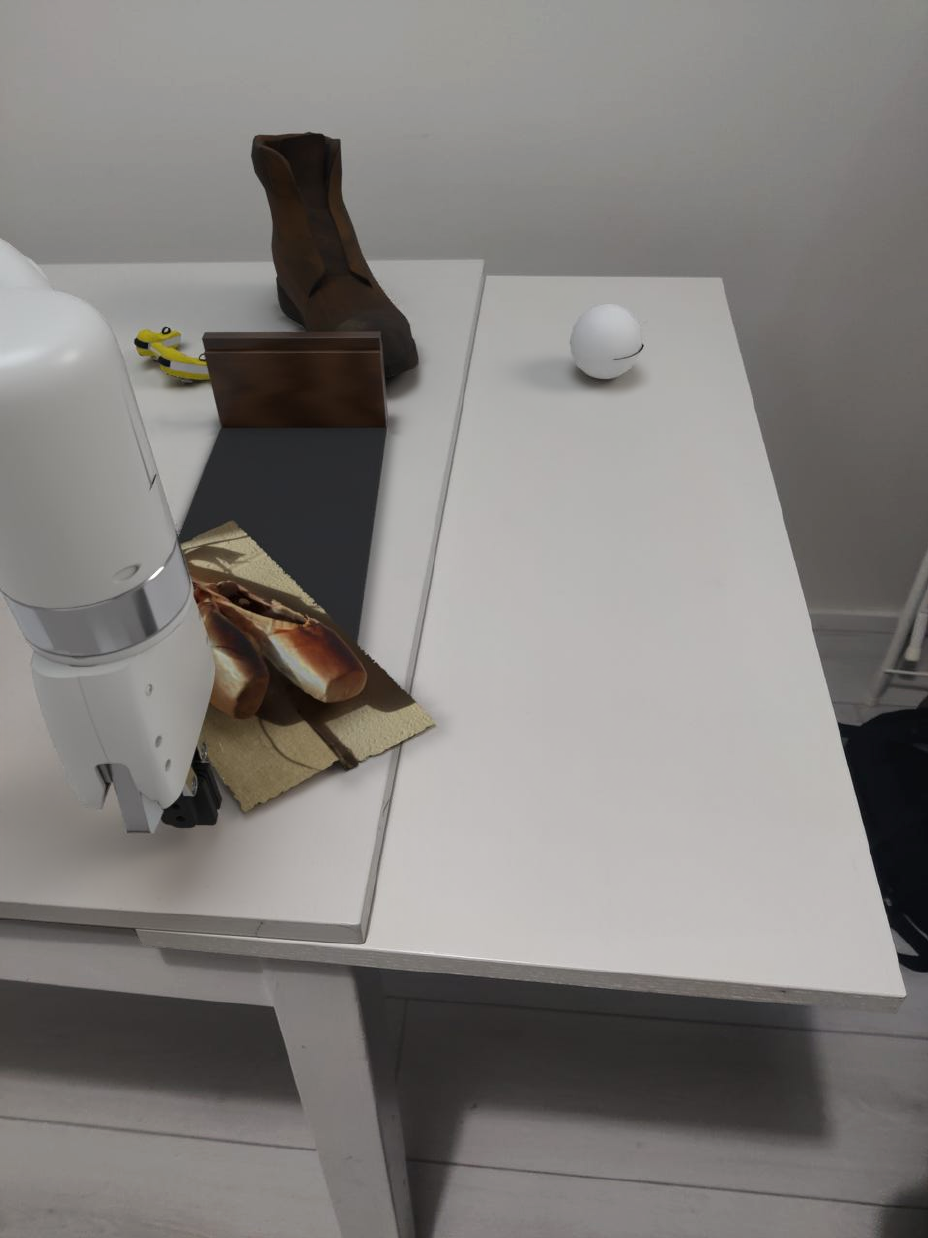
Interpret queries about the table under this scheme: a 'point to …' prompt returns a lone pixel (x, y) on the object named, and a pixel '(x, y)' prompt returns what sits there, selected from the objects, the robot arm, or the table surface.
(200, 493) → the black display mat
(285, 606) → the ballet pointe shoes
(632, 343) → the white ovoid
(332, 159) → the boot
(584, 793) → the table surface
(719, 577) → the table surface
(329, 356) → the brown wooden panel
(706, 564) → the table surface
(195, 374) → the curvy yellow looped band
